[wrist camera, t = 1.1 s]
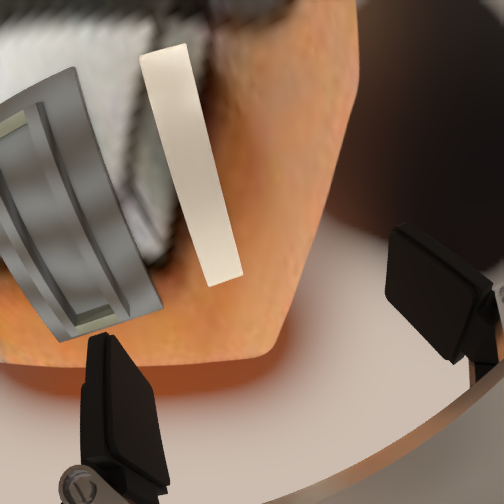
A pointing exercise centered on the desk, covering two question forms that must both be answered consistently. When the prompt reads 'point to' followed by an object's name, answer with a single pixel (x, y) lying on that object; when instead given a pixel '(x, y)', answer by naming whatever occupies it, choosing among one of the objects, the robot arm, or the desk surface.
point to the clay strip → (191, 160)
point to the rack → (65, 215)
